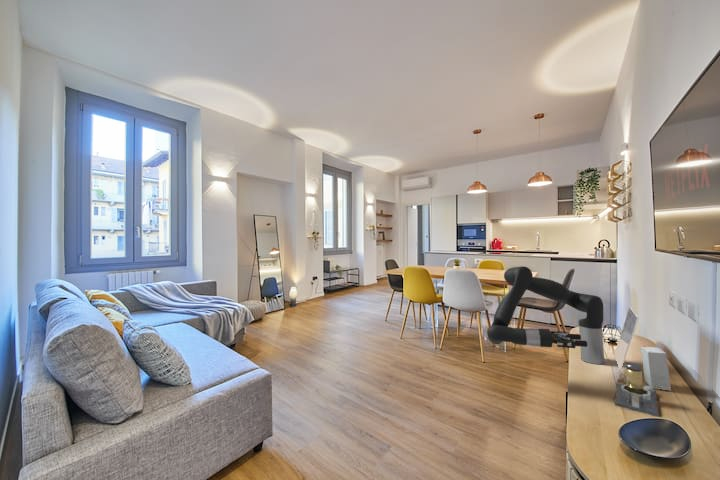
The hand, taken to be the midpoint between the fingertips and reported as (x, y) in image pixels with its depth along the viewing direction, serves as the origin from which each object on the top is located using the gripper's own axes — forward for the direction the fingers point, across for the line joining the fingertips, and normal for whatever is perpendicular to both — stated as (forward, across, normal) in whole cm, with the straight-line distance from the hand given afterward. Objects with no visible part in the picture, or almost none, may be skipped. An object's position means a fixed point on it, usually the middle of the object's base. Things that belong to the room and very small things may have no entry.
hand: (583, 340), depth 117 cm
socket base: (+14, -3, +20) cm, 25 cm away
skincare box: (+26, +13, +21) cm, 36 cm away
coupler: (+14, -3, +19) cm, 24 cm away
